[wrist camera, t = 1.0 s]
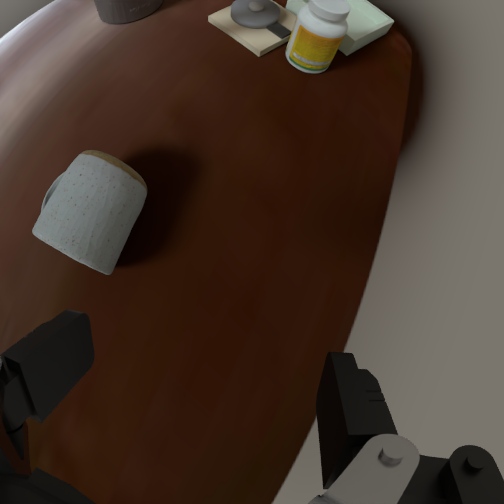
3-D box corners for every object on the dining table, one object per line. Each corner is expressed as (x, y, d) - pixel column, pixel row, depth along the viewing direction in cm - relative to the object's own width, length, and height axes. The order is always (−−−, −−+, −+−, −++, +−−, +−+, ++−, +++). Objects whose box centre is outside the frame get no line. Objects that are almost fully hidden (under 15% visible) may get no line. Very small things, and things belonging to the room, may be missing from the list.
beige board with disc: (208, 21, 31) (208, 5, 28) (259, -2, 33) (262, -16, 30) (259, 56, 31) (262, 40, 28) (309, 30, 32) (314, 16, 30)
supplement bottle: (279, 44, 31) (296, -15, 22) (320, 44, 32) (344, -11, 23) (292, 76, 31) (315, 15, 21) (335, 75, 32) (365, 20, 22)
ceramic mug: (160, 196, 27) (141, 160, 20) (122, 280, 26) (87, 272, 18) (73, 160, 27) (38, 124, 20) (37, 234, 26) (-9, 215, 18)
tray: (284, 10, 33) (289, -5, 30) (330, -7, 34) (336, -20, 32) (346, 55, 32) (355, 40, 29) (386, 33, 34) (394, 21, 31)
